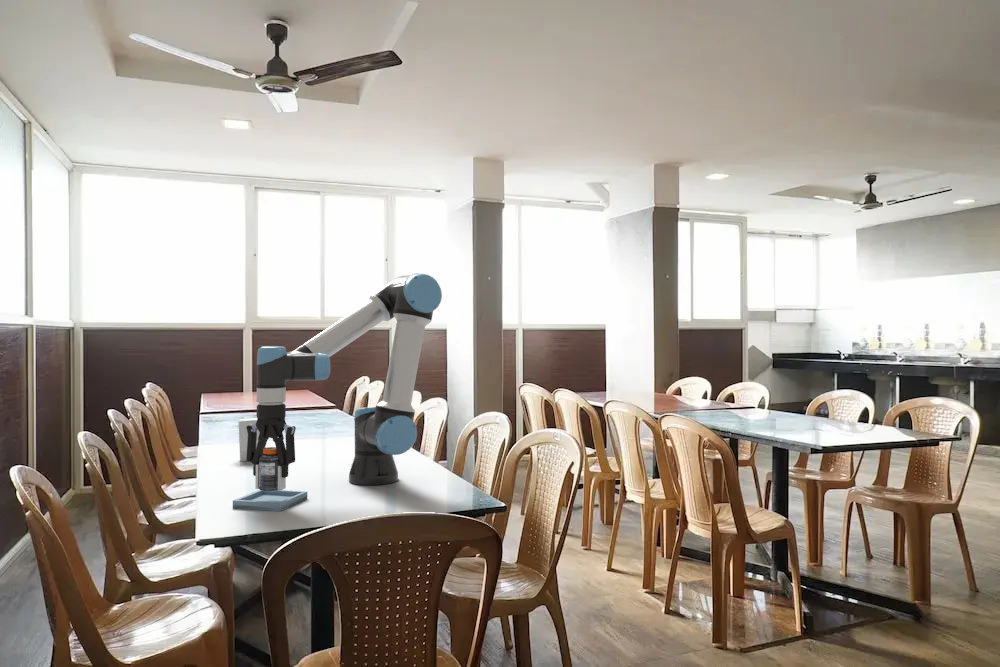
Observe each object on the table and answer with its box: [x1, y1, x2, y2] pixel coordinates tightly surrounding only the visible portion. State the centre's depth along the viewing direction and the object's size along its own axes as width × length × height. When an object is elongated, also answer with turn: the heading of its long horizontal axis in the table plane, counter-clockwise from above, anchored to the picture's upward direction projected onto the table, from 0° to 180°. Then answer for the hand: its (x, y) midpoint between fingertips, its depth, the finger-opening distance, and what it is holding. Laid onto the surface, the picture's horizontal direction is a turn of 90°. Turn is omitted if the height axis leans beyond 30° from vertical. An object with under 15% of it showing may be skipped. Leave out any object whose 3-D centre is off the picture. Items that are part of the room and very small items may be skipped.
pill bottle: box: [258, 446, 280, 491], centre depth 192 cm, size 6×6×11 cm
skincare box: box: [238, 417, 260, 462], centre depth 256 cm, size 8×6×15 cm
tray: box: [232, 489, 308, 512], centre depth 192 cm, size 14×14×2 cm
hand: (270, 488), depth 192 cm, fingers closed on pill bottle, 6 cm apart
